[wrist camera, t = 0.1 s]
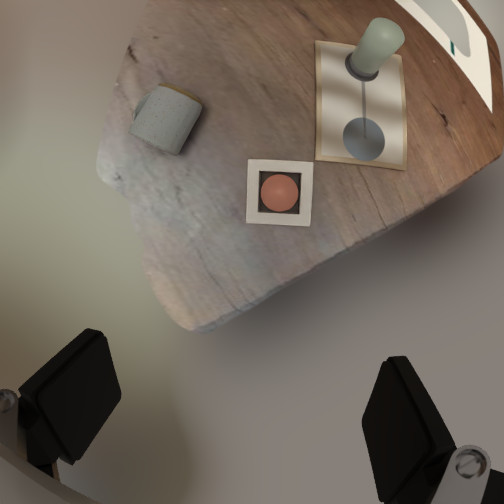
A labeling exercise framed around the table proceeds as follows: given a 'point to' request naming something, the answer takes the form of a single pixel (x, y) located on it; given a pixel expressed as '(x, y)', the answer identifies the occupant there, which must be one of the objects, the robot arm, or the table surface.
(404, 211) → the table surface
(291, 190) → the button
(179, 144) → the ceramic mug
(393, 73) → the board
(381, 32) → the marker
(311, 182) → the button housing
